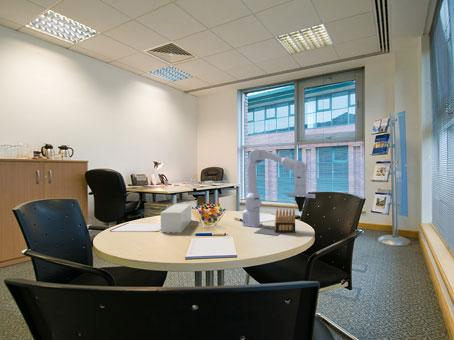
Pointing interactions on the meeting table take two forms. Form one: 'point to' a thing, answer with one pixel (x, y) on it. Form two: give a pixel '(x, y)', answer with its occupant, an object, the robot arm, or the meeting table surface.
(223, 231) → the meeting table surface
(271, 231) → the rubber mat
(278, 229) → the ammunition clip
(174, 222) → the light grey rectangular block
